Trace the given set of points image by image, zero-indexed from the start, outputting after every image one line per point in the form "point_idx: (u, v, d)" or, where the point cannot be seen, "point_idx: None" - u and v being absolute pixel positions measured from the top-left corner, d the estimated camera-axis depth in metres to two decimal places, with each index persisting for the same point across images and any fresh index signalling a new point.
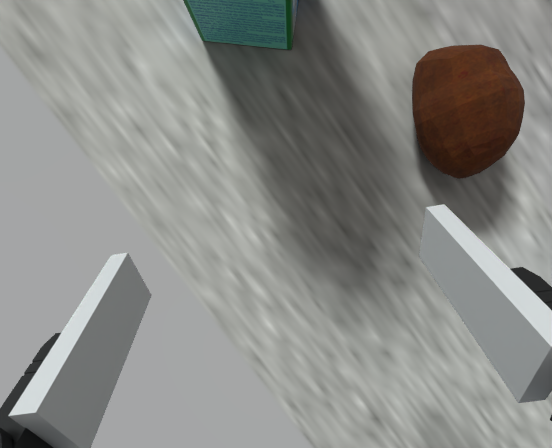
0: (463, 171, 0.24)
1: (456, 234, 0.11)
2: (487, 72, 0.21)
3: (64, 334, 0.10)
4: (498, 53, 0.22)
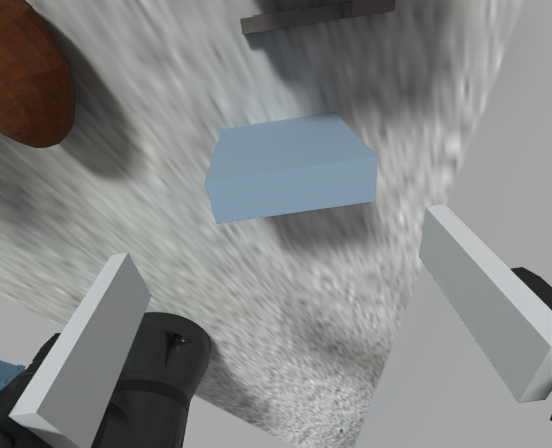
0: None
1: (456, 234, 0.11)
2: None
3: (64, 334, 0.10)
4: None
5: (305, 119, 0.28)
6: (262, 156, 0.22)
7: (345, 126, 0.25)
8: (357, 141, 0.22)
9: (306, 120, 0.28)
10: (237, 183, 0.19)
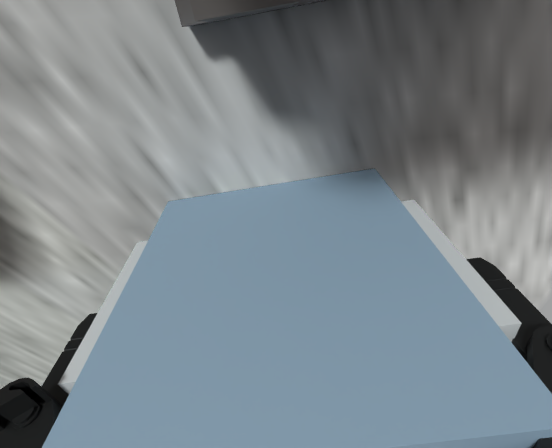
0: None
1: (421, 227, 0.12)
2: None
3: (100, 313, 0.10)
4: None
5: (320, 186, 0.15)
6: (218, 339, 0.08)
7: (408, 221, 0.12)
8: (462, 298, 0.08)
9: (322, 189, 0.15)
10: None
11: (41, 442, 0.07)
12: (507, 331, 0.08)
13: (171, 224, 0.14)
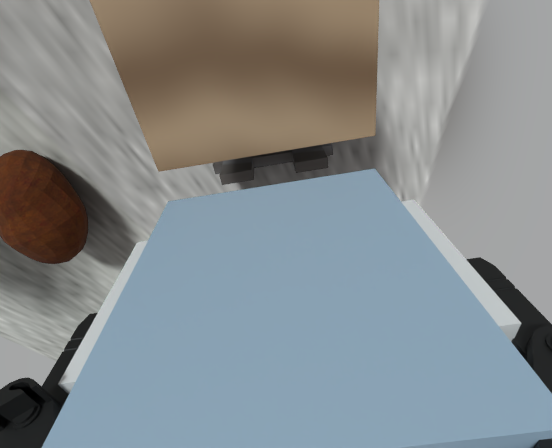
0: None
1: (421, 227, 0.12)
2: (7, 225, 0.26)
3: (100, 313, 0.10)
4: (18, 204, 0.26)
5: (320, 186, 0.15)
6: (218, 339, 0.08)
7: (409, 221, 0.12)
8: (462, 298, 0.08)
9: (322, 190, 0.15)
10: None
11: (41, 442, 0.07)
12: (507, 331, 0.08)
13: (171, 224, 0.14)
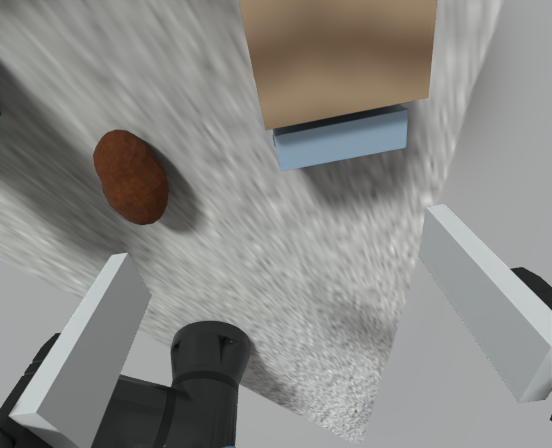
0: None
1: (456, 234, 0.11)
2: (116, 189, 0.32)
3: (63, 334, 0.10)
4: (125, 171, 0.32)
5: None
6: None
7: None
8: None
9: None
10: (298, 137, 0.25)
11: None
12: None
13: None
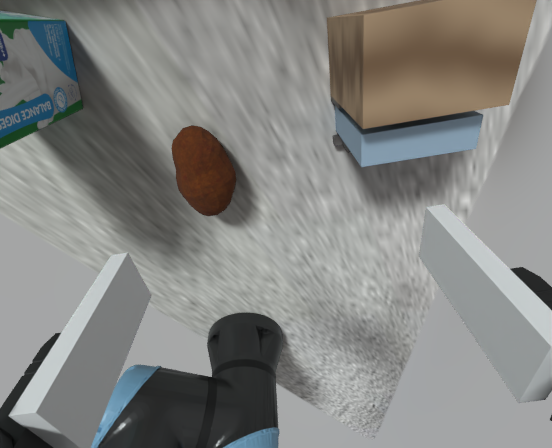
0: None
1: (456, 234, 0.11)
2: (195, 181, 0.35)
3: (63, 334, 0.10)
4: (205, 164, 0.34)
5: None
6: None
7: None
8: None
9: None
10: (383, 136, 0.28)
11: None
12: None
13: None
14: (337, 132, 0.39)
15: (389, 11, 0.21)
